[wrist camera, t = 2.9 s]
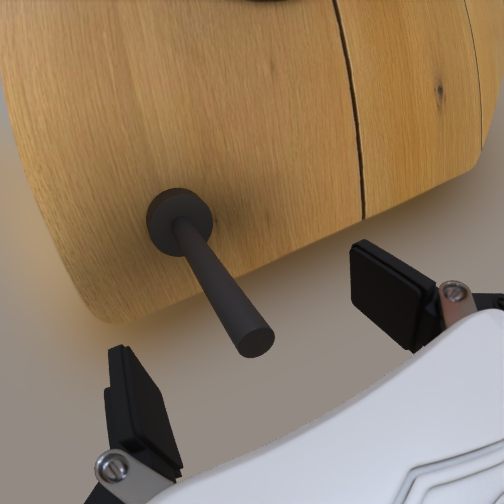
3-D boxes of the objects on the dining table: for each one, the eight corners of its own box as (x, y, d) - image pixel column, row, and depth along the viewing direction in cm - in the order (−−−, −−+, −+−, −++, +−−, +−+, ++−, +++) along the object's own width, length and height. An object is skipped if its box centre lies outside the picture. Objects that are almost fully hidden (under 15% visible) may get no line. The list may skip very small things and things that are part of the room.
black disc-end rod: (158, 254, 22) (217, 402, 11) (137, 201, 20) (174, 325, 9) (212, 232, 24) (315, 354, 12) (195, 179, 21) (305, 266, 10)
